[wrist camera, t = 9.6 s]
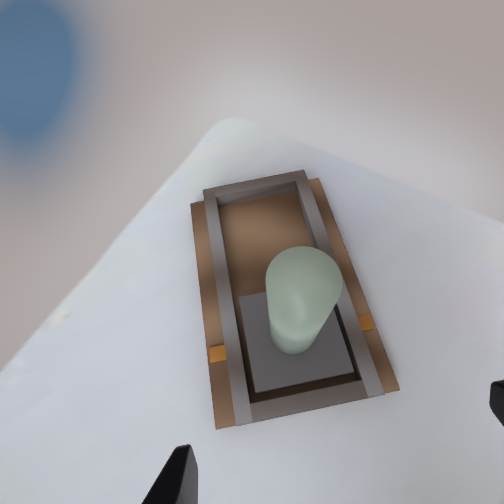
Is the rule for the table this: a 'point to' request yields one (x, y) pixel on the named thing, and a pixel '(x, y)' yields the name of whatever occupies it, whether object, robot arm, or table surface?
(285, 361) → the fader knob
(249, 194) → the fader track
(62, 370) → the table surface
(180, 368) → the table surface
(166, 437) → the table surface
